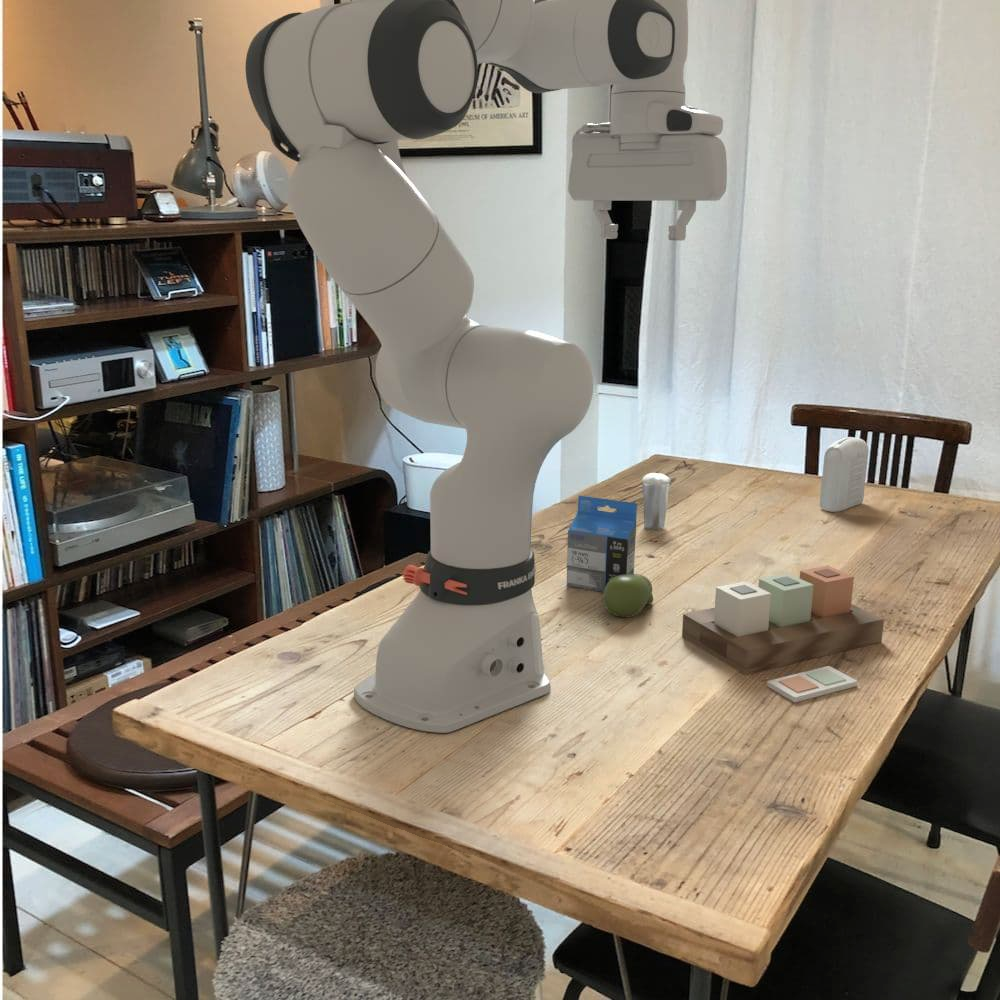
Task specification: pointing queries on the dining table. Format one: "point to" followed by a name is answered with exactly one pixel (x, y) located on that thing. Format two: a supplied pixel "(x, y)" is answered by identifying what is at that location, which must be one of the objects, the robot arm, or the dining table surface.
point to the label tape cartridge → (600, 543)
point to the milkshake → (655, 499)
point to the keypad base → (783, 639)
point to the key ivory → (742, 608)
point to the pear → (627, 594)
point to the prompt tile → (811, 683)
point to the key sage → (788, 599)
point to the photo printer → (844, 474)
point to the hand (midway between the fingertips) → (642, 239)
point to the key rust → (829, 590)
